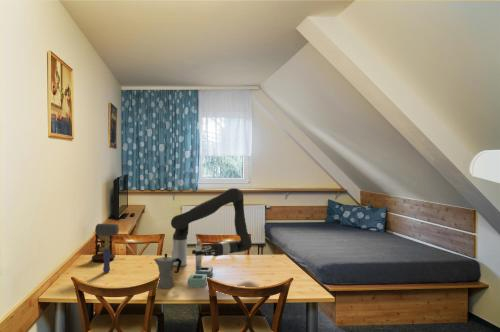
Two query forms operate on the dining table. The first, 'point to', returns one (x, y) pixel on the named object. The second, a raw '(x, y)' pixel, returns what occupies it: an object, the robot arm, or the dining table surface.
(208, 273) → the socket block
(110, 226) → the rubber mallet
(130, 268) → the dining table surface
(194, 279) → the rack block
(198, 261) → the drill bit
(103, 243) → the dark brown lantern
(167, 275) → the coffeepot
